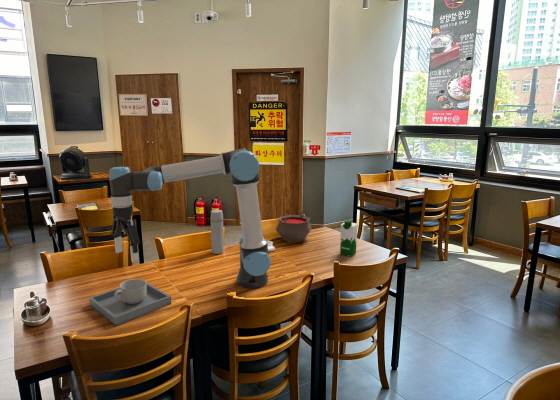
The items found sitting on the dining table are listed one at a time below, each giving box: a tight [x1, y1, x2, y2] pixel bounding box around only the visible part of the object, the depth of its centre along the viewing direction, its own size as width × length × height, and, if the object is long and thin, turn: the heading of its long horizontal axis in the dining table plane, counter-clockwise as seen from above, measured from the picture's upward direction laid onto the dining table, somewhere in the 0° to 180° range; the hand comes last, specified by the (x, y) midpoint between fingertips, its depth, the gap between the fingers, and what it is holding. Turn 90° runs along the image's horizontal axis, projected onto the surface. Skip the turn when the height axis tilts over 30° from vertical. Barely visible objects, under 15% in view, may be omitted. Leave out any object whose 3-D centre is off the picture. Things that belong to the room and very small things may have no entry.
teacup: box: [114, 278, 148, 304], centre depth 158 cm, size 14×11×8 cm
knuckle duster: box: [266, 240, 276, 253], centre depth 227 cm, size 3×18×15 cm
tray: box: [88, 282, 172, 327], centre depth 159 cm, size 24×24×4 cm
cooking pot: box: [275, 211, 312, 243], centre depth 245 cm, size 24×24×16 cm
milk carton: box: [339, 220, 359, 257], centre depth 219 cm, size 9×9×20 cm
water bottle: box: [210, 209, 225, 255], centre depth 220 cm, size 9×8×25 cm
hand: (126, 256), depth 155 cm, fingers open, 13 cm apart
